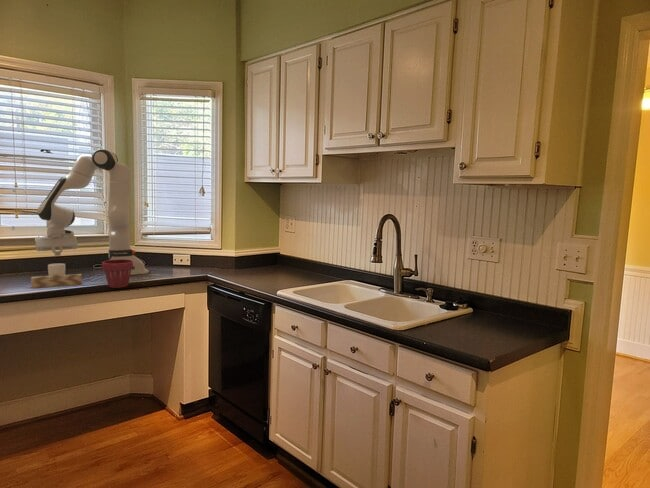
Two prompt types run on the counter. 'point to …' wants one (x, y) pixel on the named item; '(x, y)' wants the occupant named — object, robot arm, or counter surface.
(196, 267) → the counter surface
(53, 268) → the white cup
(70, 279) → the end stop
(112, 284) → the plant pot
